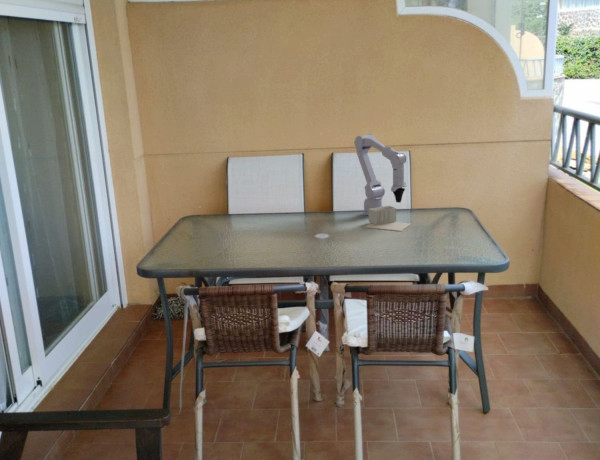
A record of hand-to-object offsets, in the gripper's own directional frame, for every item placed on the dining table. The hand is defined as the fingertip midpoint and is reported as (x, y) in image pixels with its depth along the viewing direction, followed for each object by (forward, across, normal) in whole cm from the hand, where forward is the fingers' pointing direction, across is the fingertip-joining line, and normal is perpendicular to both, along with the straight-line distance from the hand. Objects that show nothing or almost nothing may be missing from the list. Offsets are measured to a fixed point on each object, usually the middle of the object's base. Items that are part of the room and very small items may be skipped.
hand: (398, 202), depth 317 cm
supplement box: (+5, -4, +1) cm, 7 cm away
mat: (+9, -14, 0) cm, 17 cm away
